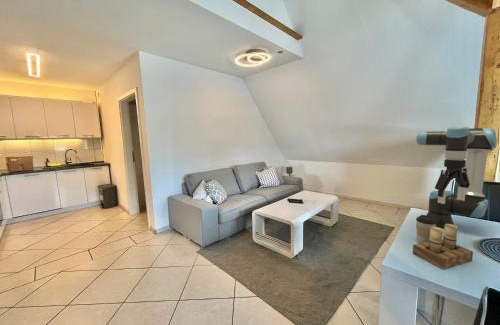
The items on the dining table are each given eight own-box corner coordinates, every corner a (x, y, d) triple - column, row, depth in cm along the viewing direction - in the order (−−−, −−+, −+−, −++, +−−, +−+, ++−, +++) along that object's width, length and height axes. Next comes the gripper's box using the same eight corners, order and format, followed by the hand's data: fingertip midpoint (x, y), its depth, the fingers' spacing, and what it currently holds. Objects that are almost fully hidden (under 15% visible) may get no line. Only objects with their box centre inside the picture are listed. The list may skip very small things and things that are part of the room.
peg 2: (446, 244, 111) (448, 223, 110) (458, 249, 107) (460, 227, 105) (440, 246, 110) (442, 224, 109) (451, 251, 105) (453, 228, 104)
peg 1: (432, 248, 109) (434, 226, 107) (443, 253, 104) (446, 230, 103) (425, 249, 107) (427, 227, 106) (436, 255, 103) (438, 231, 101)
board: (439, 246, 117) (440, 238, 116) (472, 261, 104) (473, 251, 103) (412, 253, 112) (413, 244, 111) (442, 269, 98) (443, 259, 98)
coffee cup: (438, 246, 118) (440, 220, 116) (420, 245, 119) (422, 219, 117) (428, 238, 126) (430, 214, 124) (411, 237, 128) (413, 213, 126)
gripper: (463, 156, 110) (459, 196, 112) (427, 160, 103) (424, 202, 106) (482, 158, 102) (478, 200, 105) (445, 161, 96) (441, 206, 99)
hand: (451, 201), depth 106 cm, fingers open, 13 cm apart
